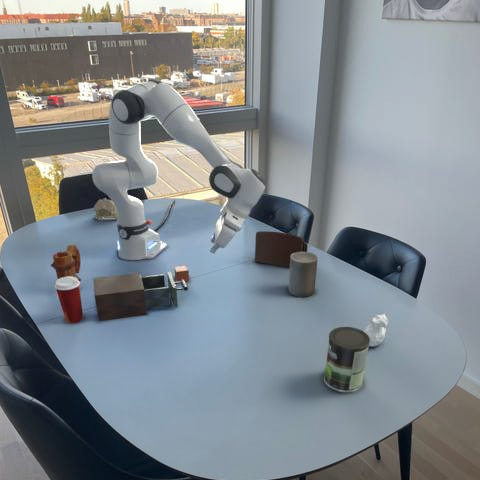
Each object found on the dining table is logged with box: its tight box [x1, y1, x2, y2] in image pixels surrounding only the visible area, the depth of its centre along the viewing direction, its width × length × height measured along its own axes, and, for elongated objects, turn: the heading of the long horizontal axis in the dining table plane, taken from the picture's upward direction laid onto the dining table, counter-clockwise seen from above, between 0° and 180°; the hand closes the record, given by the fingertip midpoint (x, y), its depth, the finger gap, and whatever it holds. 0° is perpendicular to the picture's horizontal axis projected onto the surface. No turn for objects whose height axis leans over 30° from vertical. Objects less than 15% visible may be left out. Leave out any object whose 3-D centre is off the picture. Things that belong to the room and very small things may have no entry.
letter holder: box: [254, 230, 309, 269], centre depth 191 cm, size 10×20×14 cm, turn 69°
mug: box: [50, 244, 82, 285], centre depth 170 cm, size 15×8×15 cm, turn 168°
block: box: [174, 265, 190, 283], centre depth 178 cm, size 5×5×5 cm
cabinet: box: [92, 272, 148, 322], centre depth 157 cm, size 16×14×10 cm
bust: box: [363, 313, 389, 348], centre depth 139 cm, size 12×8×11 cm
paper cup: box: [54, 276, 84, 324], centre depth 150 cm, size 8×8×14 cm
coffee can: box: [323, 326, 370, 394], centre depth 122 cm, size 10×10×14 cm
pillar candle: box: [288, 251, 319, 298], centre depth 167 cm, size 10×10×15 cm
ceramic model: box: [93, 197, 118, 221], centre depth 241 cm, size 14×11×10 cm
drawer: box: [141, 271, 189, 311], centre depth 160 cm, size 19×12×8 cm, turn 106°
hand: (212, 247), depth 165 cm, fingers open, 8 cm apart
